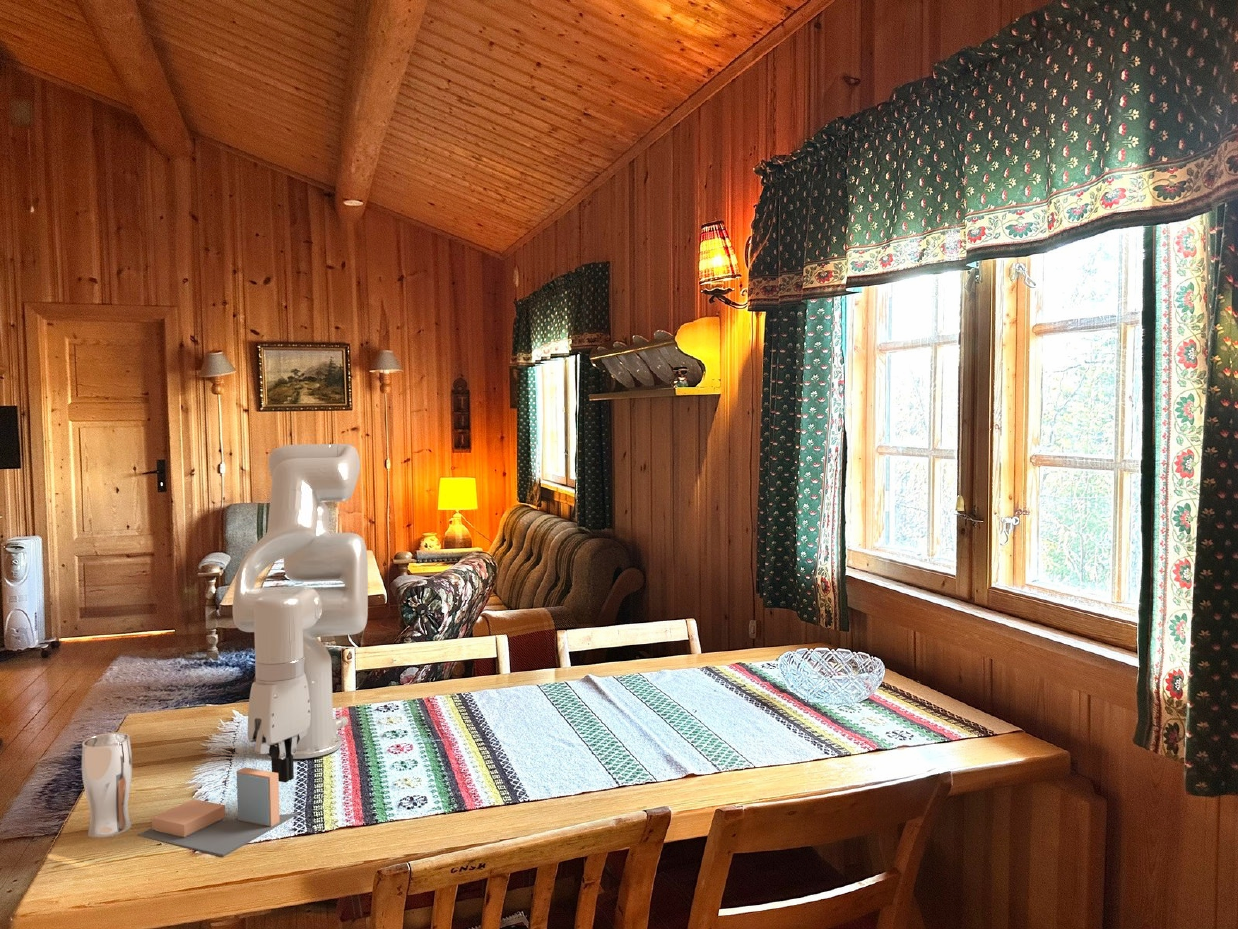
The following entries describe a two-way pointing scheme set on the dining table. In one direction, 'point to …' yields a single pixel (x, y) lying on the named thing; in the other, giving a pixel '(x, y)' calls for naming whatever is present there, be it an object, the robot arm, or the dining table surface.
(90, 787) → the beer glass
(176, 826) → the terracotta tile
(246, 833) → the rubber mat
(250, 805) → the peach flat block
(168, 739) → the dining table surface
